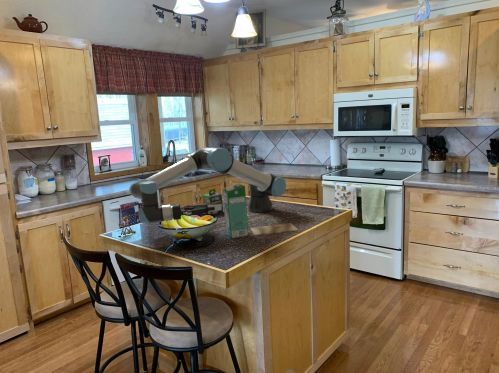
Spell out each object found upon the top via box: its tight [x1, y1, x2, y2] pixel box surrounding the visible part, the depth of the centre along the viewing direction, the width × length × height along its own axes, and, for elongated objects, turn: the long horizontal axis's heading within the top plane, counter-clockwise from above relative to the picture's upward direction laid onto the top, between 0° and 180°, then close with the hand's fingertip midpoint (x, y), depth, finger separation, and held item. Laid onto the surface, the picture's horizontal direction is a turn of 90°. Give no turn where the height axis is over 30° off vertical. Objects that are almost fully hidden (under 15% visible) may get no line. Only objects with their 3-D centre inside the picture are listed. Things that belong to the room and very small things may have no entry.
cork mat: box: [250, 222, 299, 237], centre depth 199 cm, size 22×12×1 cm, turn 100°
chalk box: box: [202, 188, 224, 216], centre depth 240 cm, size 9×9×15 cm
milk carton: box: [222, 183, 249, 239], centre depth 193 cm, size 9×9×25 cm
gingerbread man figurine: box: [118, 212, 137, 235], centre depth 206 cm, size 9×4×12 cm, turn 143°
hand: (221, 207), depth 191 cm, fingers closed
